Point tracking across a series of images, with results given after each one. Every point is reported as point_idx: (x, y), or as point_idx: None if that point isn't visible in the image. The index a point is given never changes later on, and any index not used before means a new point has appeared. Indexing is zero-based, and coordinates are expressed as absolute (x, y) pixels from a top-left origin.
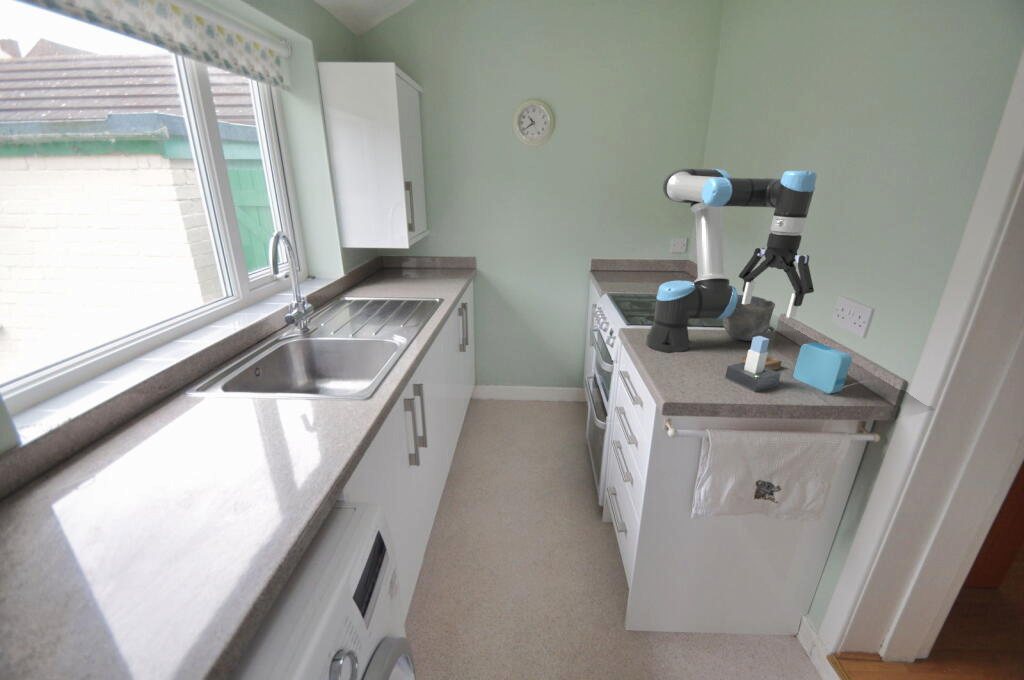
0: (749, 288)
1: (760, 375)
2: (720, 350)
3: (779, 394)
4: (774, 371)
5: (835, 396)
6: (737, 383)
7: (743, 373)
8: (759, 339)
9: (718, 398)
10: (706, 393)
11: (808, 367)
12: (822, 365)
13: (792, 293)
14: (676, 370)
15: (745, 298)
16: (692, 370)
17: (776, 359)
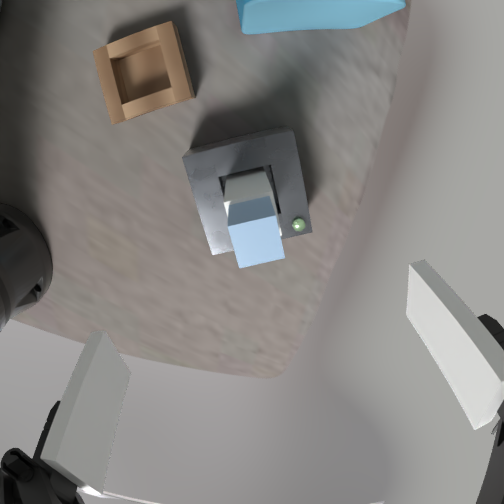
0: (96, 445)
1: (291, 205)
2: (28, 125)
3: (322, 153)
4: (275, 138)
5: None
6: None
7: None
8: (269, 260)
9: (300, 305)
10: (274, 315)
11: (289, 19)
12: (338, 12)
13: (475, 428)
14: (152, 313)
15: (121, 399)
16: (153, 280)
17: (154, 28)
